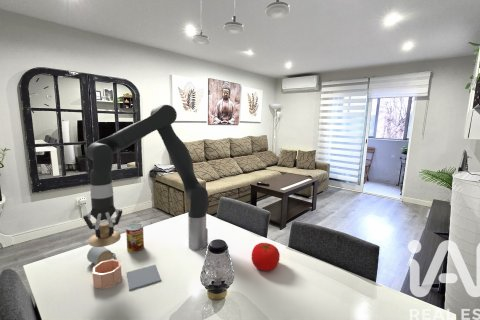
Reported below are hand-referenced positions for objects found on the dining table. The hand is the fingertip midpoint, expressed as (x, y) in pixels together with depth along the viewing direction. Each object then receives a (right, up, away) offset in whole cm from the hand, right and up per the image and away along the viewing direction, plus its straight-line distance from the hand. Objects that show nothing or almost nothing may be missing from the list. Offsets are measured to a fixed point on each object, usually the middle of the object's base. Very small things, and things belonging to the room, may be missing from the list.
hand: (104, 236), depth 95 cm
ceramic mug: (-10, -17, +16) cm, 25 cm away
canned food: (0, -16, +27) cm, 32 cm away
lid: (0, -2, 0) cm, 2 cm away
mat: (+13, -19, +5) cm, 24 cm away
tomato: (+65, -19, +15) cm, 70 cm away
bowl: (-1, -19, +3) cm, 19 cm away
